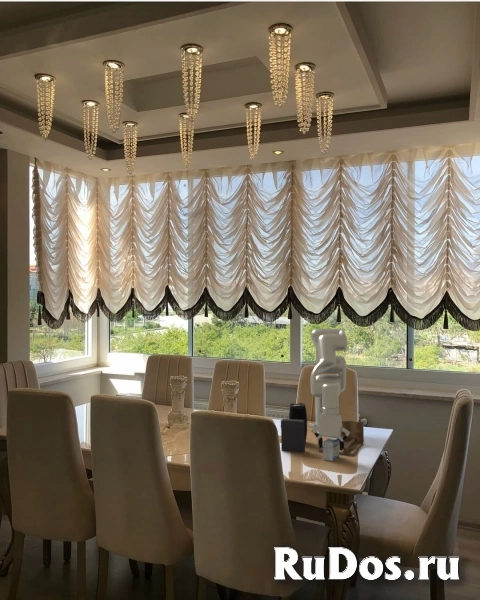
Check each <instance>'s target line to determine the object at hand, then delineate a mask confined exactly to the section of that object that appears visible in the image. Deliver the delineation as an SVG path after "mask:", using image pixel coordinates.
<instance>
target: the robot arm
mask: <svg viewBox="0 0 480 600" xmlns="http://www.w3.org/2000/svg"><path fill="white" fill-rule="evenodd" d="M310 335H311V340H312V343H313V345H314V347H315V365H314V367H313V369H312V370H311V373H310V393H311V395H312V396H313V397H314V398H315V399H314V403H315V410H314V411H315V414H314V415H315V422H314V423H310V422H309V423H308V424H307V427H309V428H312V433H313V434H314V436H315V437H316V438H317V440H318V442H317V443H318V445H317V446H318V448H319V449H321V448H322V447H323V441H324V439H323V438H322V437H325V438H326V437H327V438H330V437H338V438H339V439H340V440H341V441H340V450H341V451H342V450H343V448H344V440H345V439H346V438H347V437H348V436H349V434H350V432H349V431H348V430H346V429H345V428H343V427H342V420H343V419H342V416H341V415H342V414H340V398H339V397H340V396H341V394H342V392H344V391H345V390H346V388H347V362H346V358H345V357H344V356H342V355H336V353H337V352H345V351H346V350H347V349H348V338H347V335H346V332H345V330H344V329H341V328H316V329H313V330H312V331H311V333H310ZM343 432H345V433H346V435H345V436H344V437H343V435H342V433H343Z"/></svg>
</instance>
